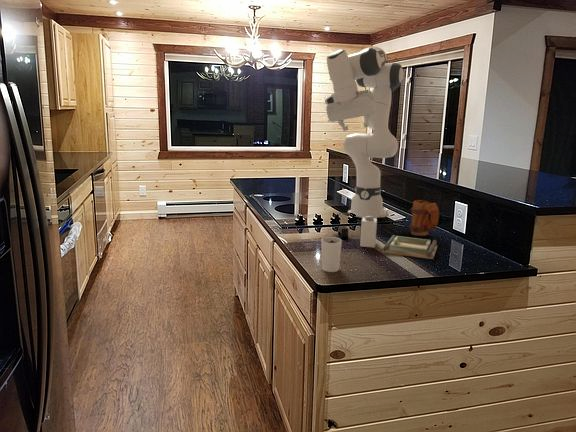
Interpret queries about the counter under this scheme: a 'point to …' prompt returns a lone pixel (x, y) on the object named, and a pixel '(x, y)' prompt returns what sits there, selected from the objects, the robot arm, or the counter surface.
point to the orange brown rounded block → (423, 217)
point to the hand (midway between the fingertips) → (356, 128)
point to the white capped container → (368, 231)
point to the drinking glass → (331, 253)
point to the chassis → (411, 247)
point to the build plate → (343, 233)
